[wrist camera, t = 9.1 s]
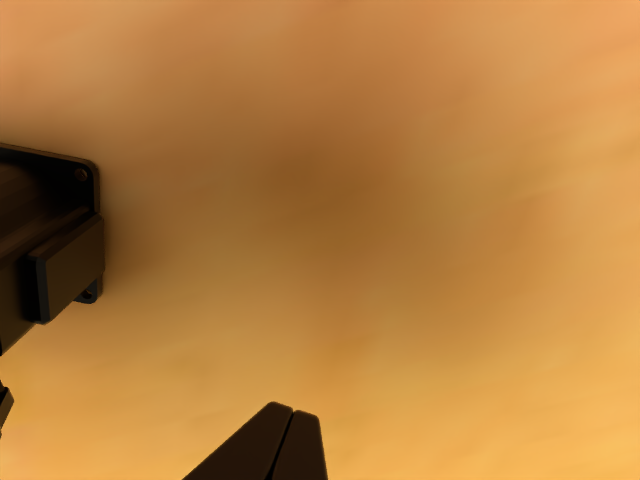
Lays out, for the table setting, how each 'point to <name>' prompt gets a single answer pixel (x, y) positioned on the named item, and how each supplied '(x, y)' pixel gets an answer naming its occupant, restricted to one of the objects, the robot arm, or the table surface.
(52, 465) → the table surface
